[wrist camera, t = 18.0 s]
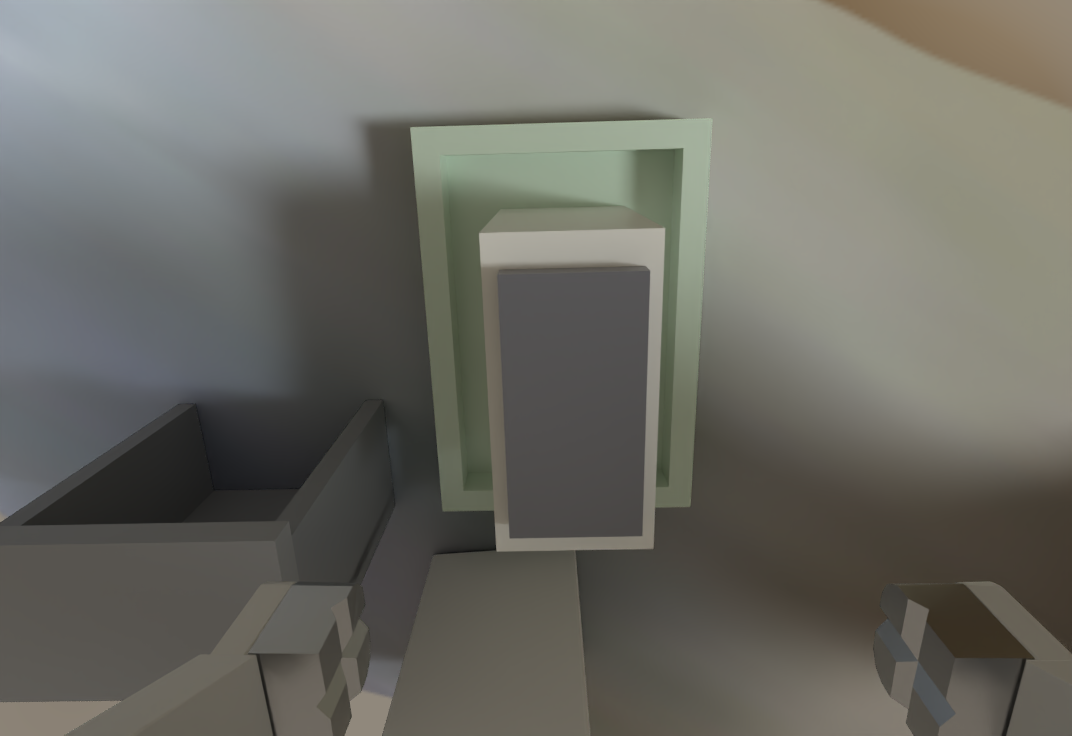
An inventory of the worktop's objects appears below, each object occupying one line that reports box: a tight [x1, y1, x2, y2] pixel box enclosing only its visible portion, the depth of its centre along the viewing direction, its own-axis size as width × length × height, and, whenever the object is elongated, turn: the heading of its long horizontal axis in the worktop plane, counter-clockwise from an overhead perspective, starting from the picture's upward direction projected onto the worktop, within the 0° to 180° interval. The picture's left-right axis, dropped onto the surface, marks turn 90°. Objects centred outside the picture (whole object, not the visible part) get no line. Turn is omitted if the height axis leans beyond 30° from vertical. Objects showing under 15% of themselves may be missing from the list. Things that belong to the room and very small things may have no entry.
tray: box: [410, 118, 713, 511], centre depth 26 cm, size 11×16×2 cm
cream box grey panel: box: [479, 206, 665, 552], centre depth 22 cm, size 5×10×10 cm, turn 2°
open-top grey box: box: [0, 400, 395, 702], centre depth 24 cm, size 10×6×12 cm, turn 92°
